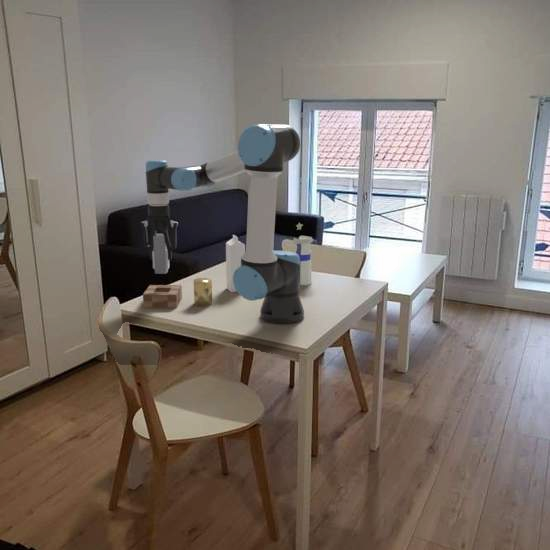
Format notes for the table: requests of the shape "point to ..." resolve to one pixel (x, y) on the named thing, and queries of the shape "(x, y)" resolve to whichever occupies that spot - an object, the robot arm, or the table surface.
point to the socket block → (162, 296)
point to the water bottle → (304, 257)
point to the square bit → (160, 254)
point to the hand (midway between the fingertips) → (161, 267)
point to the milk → (233, 260)
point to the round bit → (202, 292)
